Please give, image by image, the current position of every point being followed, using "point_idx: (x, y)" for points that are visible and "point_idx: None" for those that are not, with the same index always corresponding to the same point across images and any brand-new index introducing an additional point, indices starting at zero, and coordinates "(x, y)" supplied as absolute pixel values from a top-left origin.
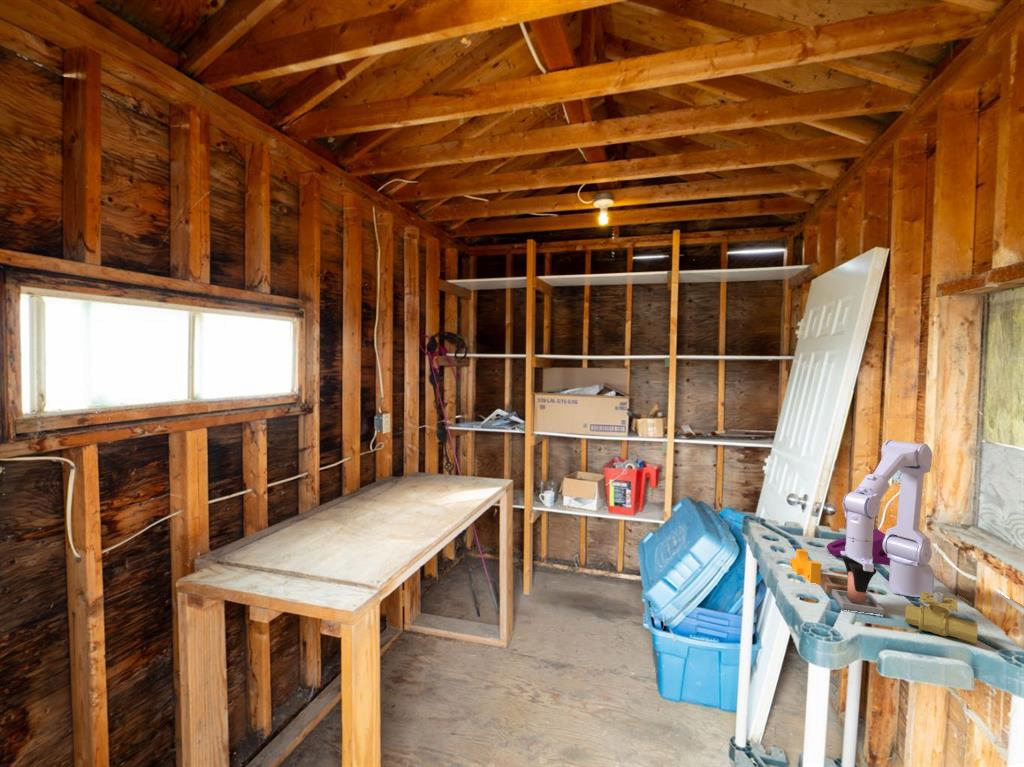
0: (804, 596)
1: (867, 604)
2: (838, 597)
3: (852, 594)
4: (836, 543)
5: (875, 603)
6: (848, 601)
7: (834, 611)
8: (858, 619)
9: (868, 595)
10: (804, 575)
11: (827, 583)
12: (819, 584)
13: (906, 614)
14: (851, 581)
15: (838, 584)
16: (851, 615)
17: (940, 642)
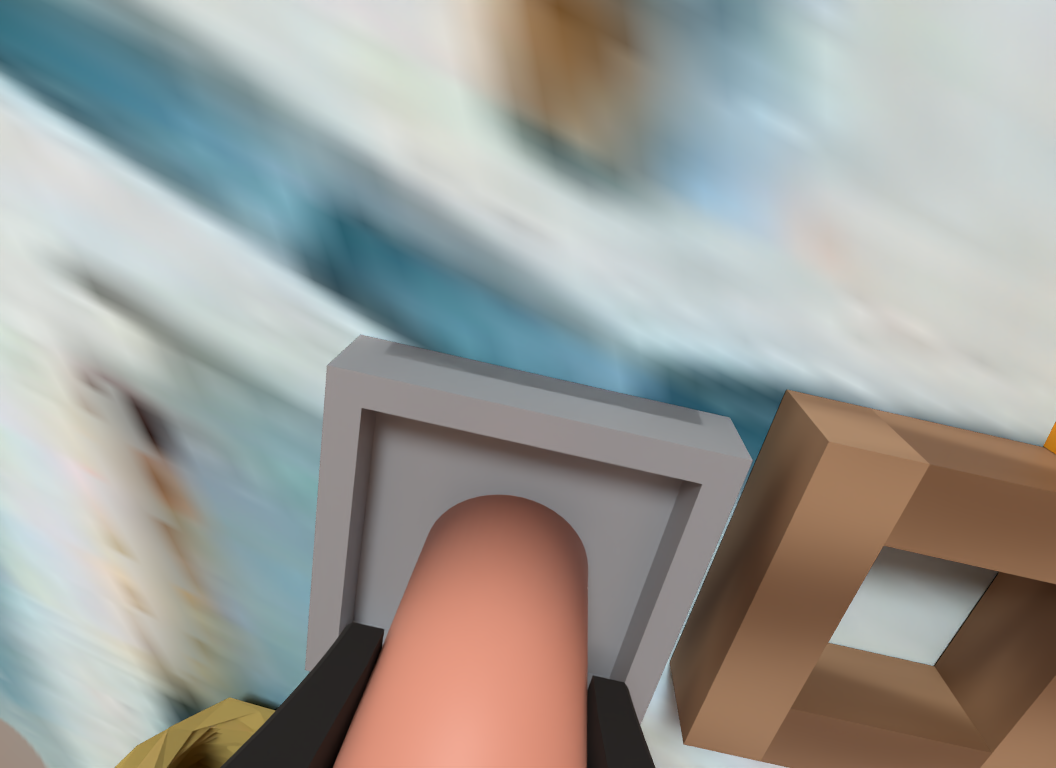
0: (679, 27)
1: None
2: (491, 402)
3: (436, 562)
4: None
5: None
6: (534, 493)
7: (313, 233)
8: (211, 390)
9: None
10: None
11: (881, 476)
12: (1049, 440)
13: (151, 765)
14: (396, 704)
15: (849, 591)
16: (279, 370)
17: (83, 727)
